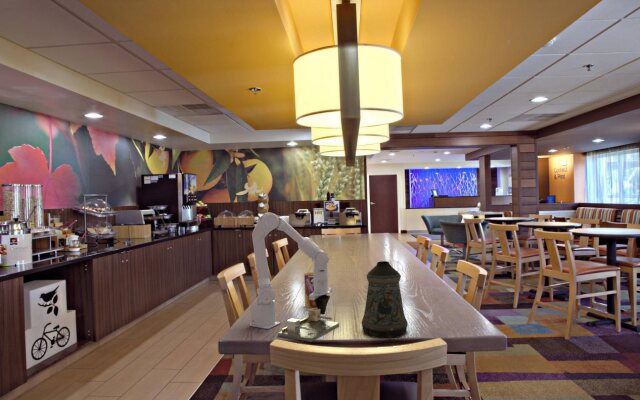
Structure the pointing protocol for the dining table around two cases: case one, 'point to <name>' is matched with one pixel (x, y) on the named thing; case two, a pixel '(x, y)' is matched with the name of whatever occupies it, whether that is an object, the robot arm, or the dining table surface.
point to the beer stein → (384, 304)
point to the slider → (315, 315)
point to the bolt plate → (310, 335)
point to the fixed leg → (295, 326)
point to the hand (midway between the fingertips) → (321, 314)
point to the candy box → (309, 289)
